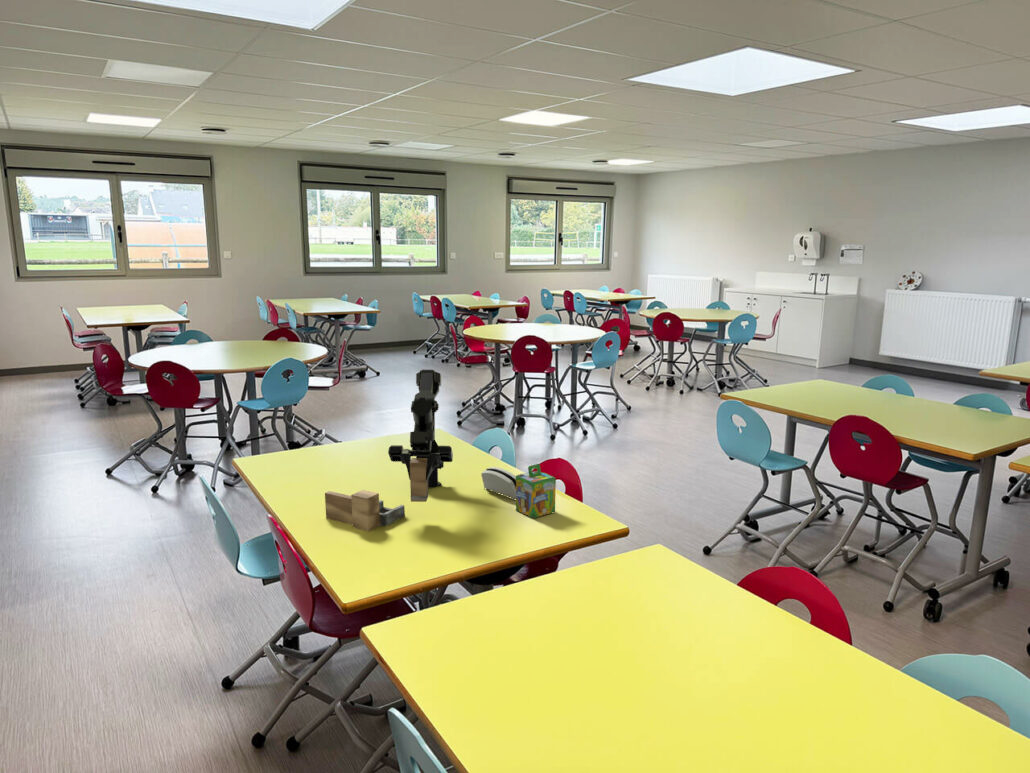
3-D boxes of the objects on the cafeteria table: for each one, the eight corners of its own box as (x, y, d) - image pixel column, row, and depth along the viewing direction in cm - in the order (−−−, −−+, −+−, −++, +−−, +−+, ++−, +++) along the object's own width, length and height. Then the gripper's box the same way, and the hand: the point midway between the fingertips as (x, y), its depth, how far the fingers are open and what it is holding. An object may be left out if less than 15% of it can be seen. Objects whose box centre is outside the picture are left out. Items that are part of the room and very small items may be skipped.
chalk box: (533, 519, 210) (533, 472, 207) (514, 510, 217) (514, 465, 214) (556, 512, 216) (557, 466, 213) (537, 504, 223) (538, 459, 220)
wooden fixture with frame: (355, 504, 222) (354, 474, 220) (404, 516, 212) (403, 484, 211) (322, 519, 210) (320, 488, 208) (373, 532, 200) (371, 499, 198)
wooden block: (413, 496, 210) (412, 457, 208) (428, 496, 210) (427, 458, 208) (410, 501, 206) (409, 462, 203) (426, 501, 205) (425, 462, 203)
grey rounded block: (528, 497, 229) (521, 472, 225) (518, 505, 226) (511, 479, 222) (495, 485, 241) (487, 460, 237) (485, 492, 238) (477, 468, 234)
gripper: (388, 419, 207) (381, 466, 199) (451, 419, 207) (447, 467, 198) (394, 437, 217) (388, 483, 208) (454, 438, 216) (450, 484, 207)
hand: (418, 479), depth 205 cm, fingers closed on wooden block, 4 cm apart
